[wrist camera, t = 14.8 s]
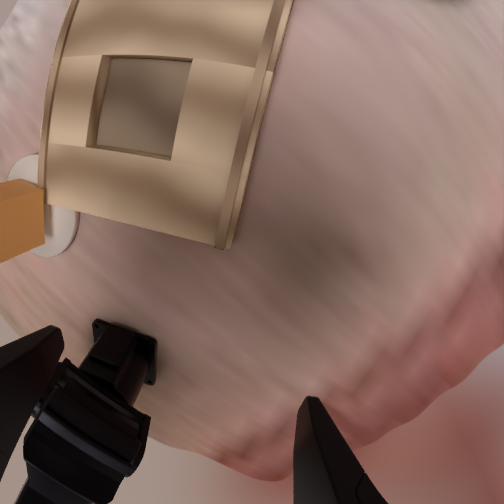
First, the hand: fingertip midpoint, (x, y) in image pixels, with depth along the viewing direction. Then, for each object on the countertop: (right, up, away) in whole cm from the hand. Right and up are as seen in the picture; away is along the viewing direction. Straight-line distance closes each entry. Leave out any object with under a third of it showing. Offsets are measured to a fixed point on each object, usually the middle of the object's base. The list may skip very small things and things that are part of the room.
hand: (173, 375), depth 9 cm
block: (-15, +7, +10) cm, 20 cm away
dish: (-15, +8, +12) cm, 21 cm away
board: (-3, +19, +6) cm, 20 cm away
